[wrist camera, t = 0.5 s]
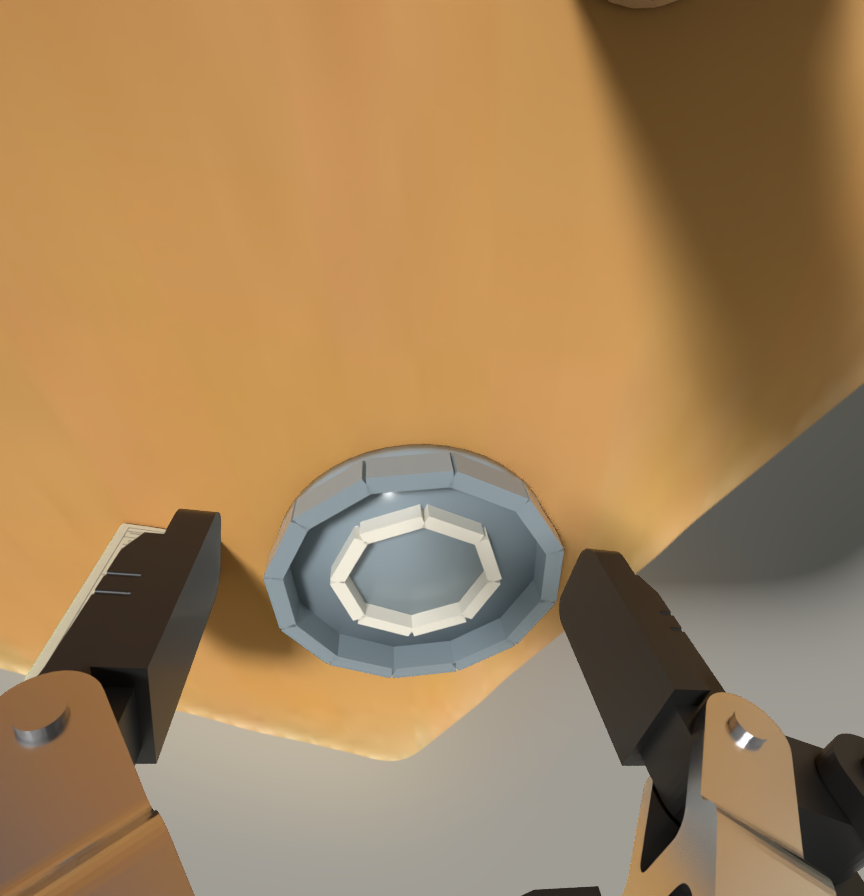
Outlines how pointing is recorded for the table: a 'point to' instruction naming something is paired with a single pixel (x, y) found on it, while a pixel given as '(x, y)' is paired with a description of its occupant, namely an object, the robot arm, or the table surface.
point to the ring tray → (413, 562)
